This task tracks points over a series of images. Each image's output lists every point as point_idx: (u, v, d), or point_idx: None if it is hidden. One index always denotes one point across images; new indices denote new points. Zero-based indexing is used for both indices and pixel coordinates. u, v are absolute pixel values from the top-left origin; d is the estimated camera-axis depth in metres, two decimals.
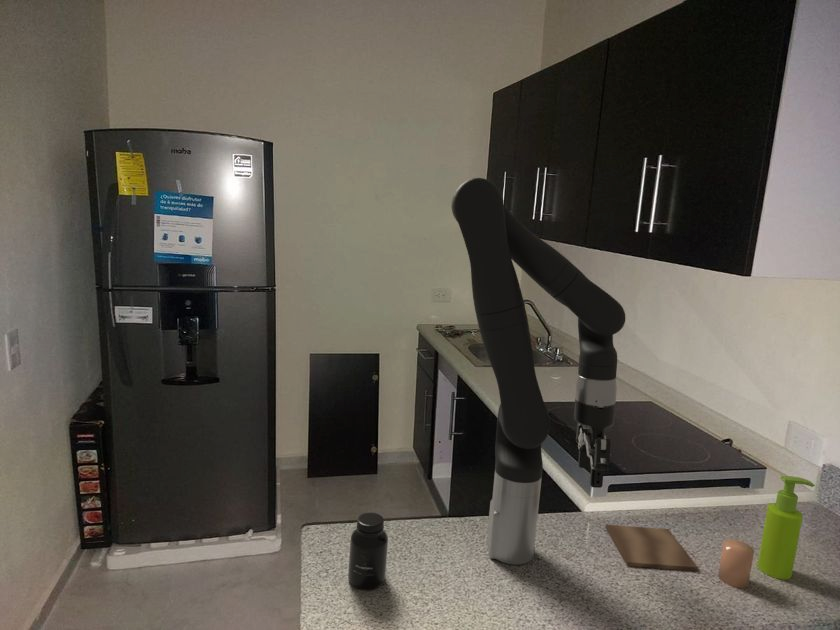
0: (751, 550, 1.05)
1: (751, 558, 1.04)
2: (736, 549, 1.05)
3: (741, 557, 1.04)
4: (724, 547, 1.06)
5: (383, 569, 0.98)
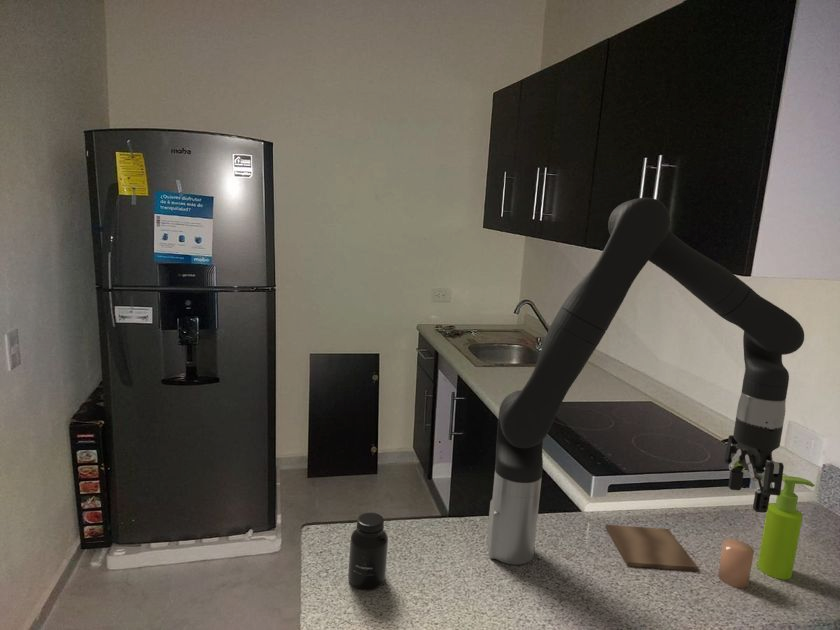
0: (751, 550, 1.05)
1: (751, 558, 1.04)
2: (736, 549, 1.05)
3: (741, 557, 1.04)
4: (724, 547, 1.06)
5: (383, 569, 0.98)
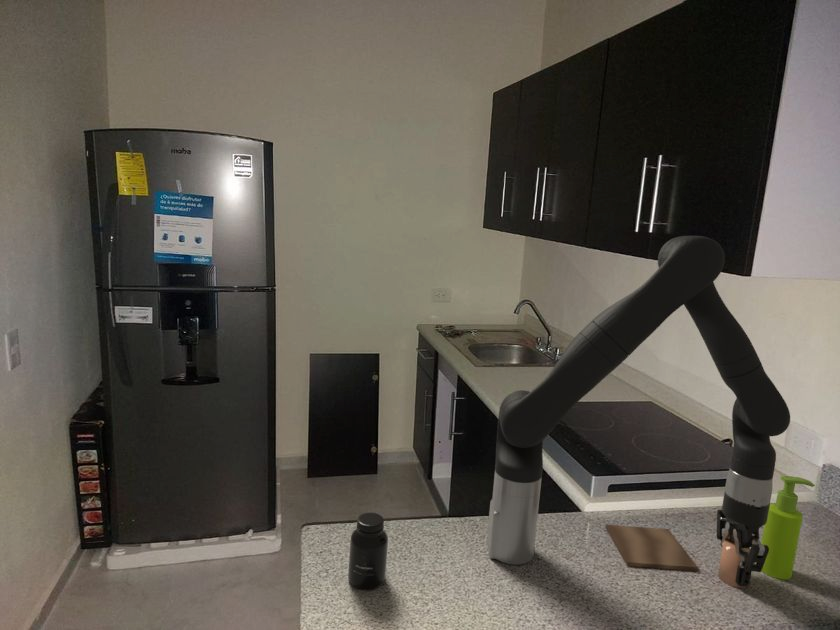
0: None
1: None
2: None
3: None
4: (724, 547, 1.06)
5: (383, 569, 0.98)
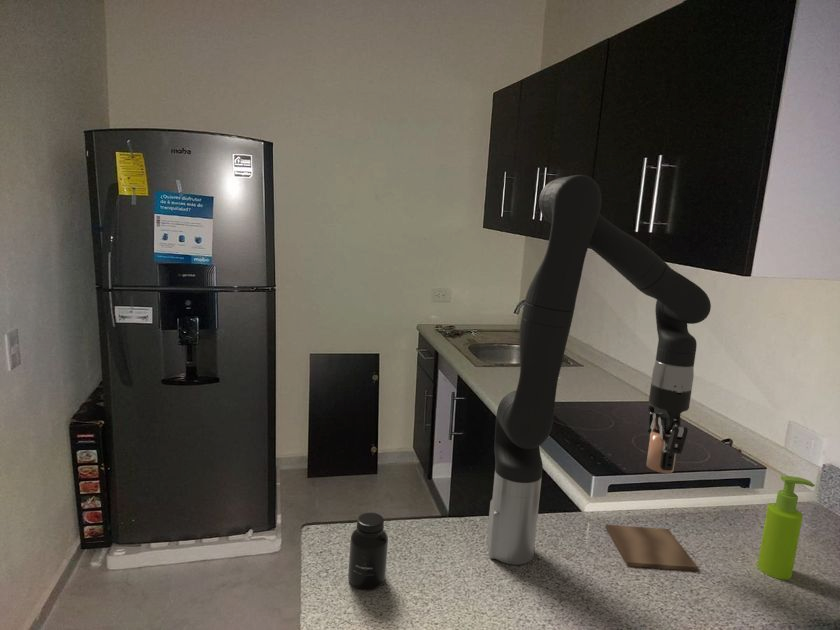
0: None
1: None
2: None
3: None
4: (651, 436, 1.12)
5: (383, 569, 0.98)
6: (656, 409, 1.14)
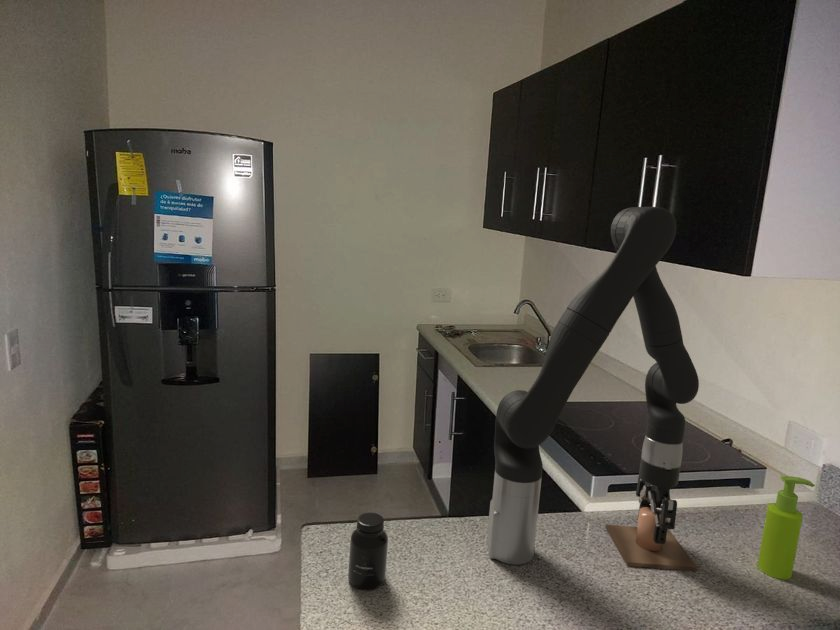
0: None
1: None
2: (649, 515, 1.14)
3: (653, 522, 1.13)
4: (639, 513, 1.16)
5: (383, 569, 0.98)
6: (646, 481, 1.17)
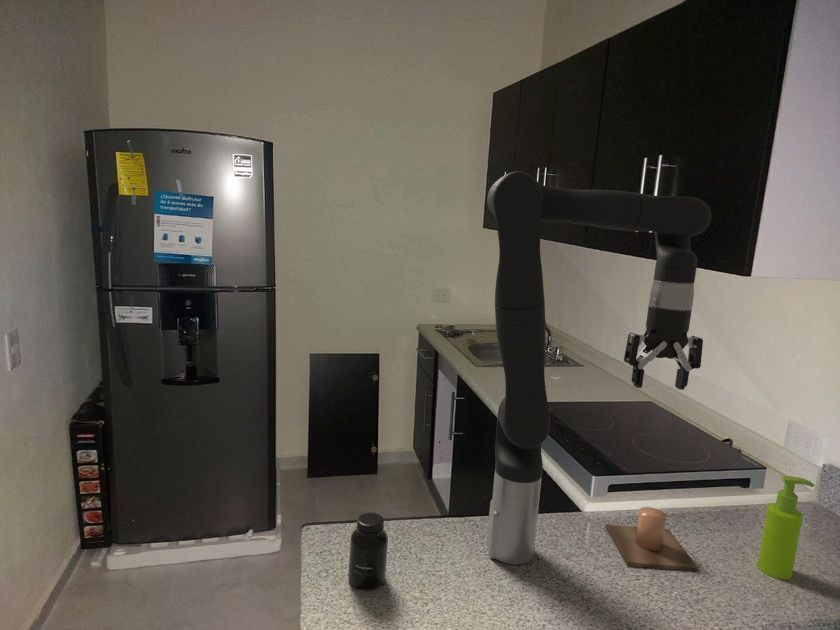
0: (663, 516, 1.14)
1: (662, 523, 1.13)
2: (649, 514, 1.14)
3: (653, 521, 1.13)
4: (639, 513, 1.16)
5: (383, 569, 0.98)
6: None
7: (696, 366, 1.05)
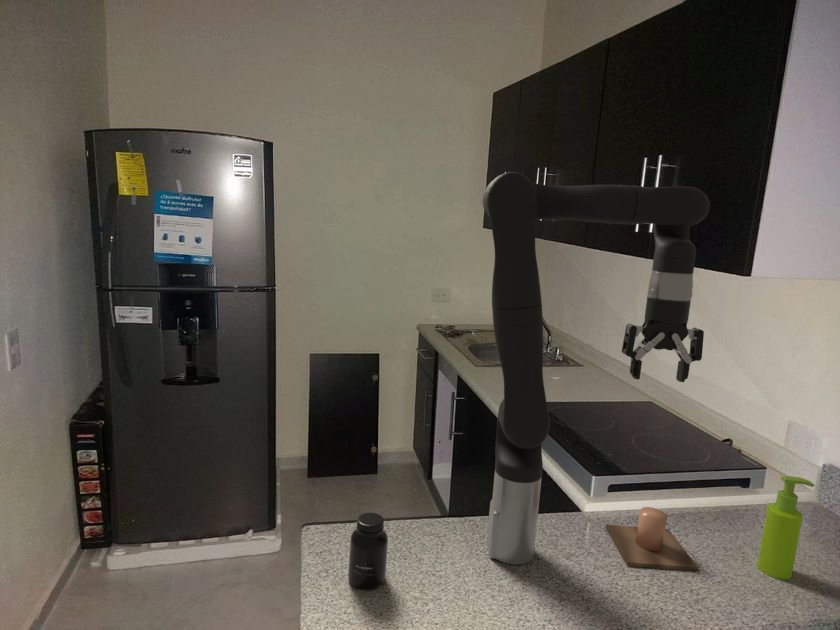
0: (664, 516, 1.14)
1: (663, 523, 1.13)
2: (650, 514, 1.14)
3: (653, 521, 1.13)
4: (640, 513, 1.16)
5: (383, 569, 0.98)
6: None
7: (697, 358, 1.03)
